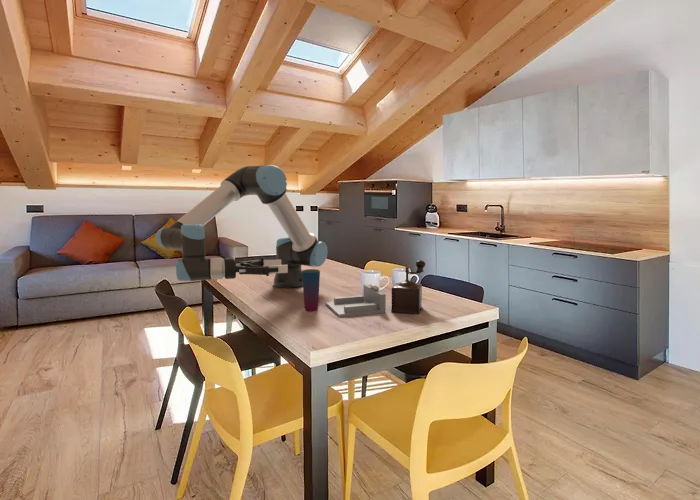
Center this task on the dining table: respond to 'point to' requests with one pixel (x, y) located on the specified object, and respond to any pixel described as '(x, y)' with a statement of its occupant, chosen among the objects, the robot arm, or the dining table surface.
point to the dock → (360, 303)
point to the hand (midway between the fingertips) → (284, 265)
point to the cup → (311, 288)
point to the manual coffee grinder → (408, 293)
